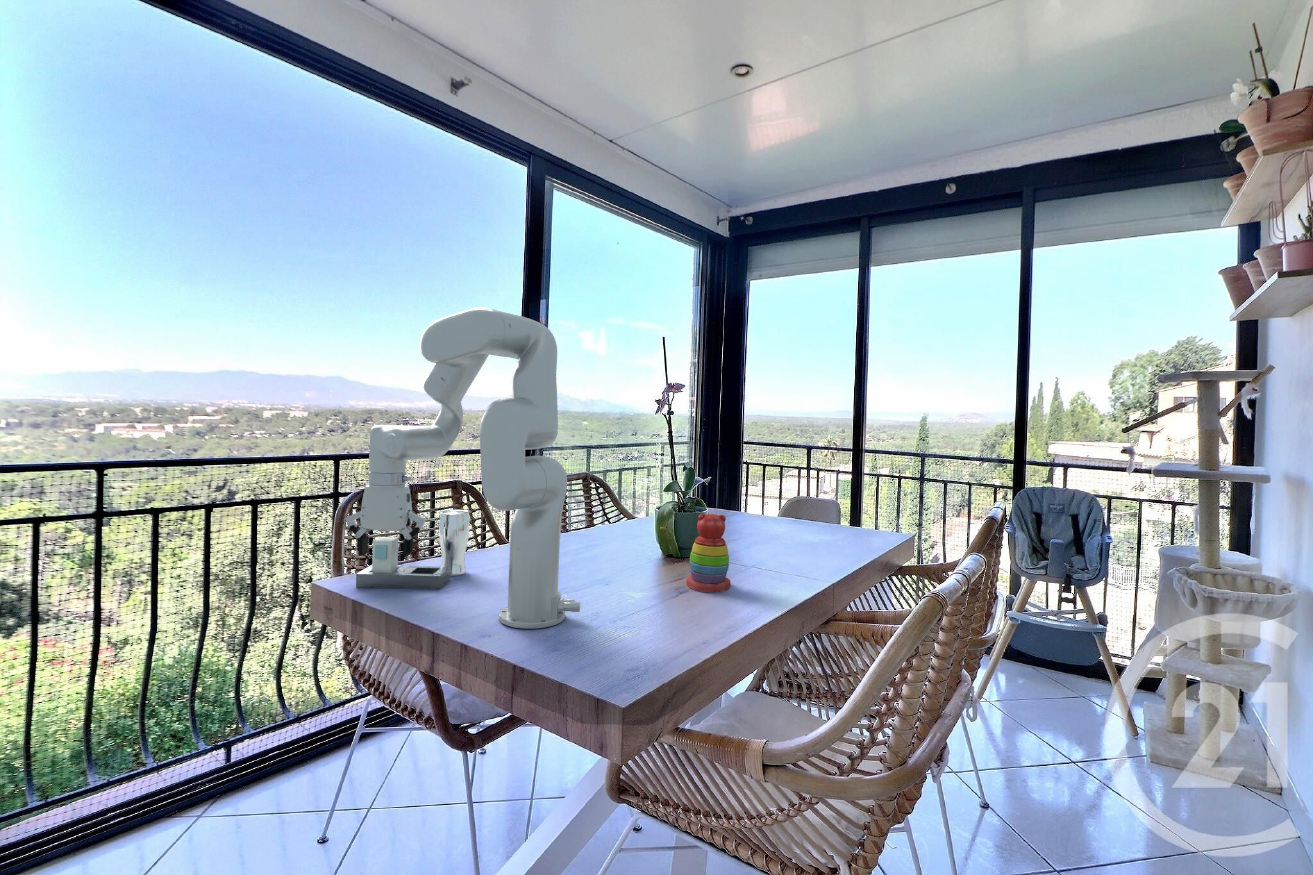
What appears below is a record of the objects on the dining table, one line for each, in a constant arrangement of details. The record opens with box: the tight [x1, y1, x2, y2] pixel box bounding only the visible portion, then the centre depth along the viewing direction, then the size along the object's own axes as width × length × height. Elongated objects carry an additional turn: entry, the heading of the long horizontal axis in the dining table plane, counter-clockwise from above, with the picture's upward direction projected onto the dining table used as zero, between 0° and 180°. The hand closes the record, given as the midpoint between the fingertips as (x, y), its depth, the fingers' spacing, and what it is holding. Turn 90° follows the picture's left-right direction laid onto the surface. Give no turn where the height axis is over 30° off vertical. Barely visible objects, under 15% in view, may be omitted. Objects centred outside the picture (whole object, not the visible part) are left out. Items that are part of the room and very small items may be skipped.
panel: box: [355, 564, 451, 591], centre depth 135 cm, size 18×8×3 cm, turn 93°
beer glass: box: [438, 509, 470, 577], centre depth 146 cm, size 7×7×15 cm
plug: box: [371, 536, 399, 573], centre depth 135 cm, size 4×5×10 cm
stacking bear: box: [685, 513, 732, 593], centre depth 143 cm, size 11×10×18 cm
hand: (384, 555), depth 135 cm, fingers open, 9 cm apart
